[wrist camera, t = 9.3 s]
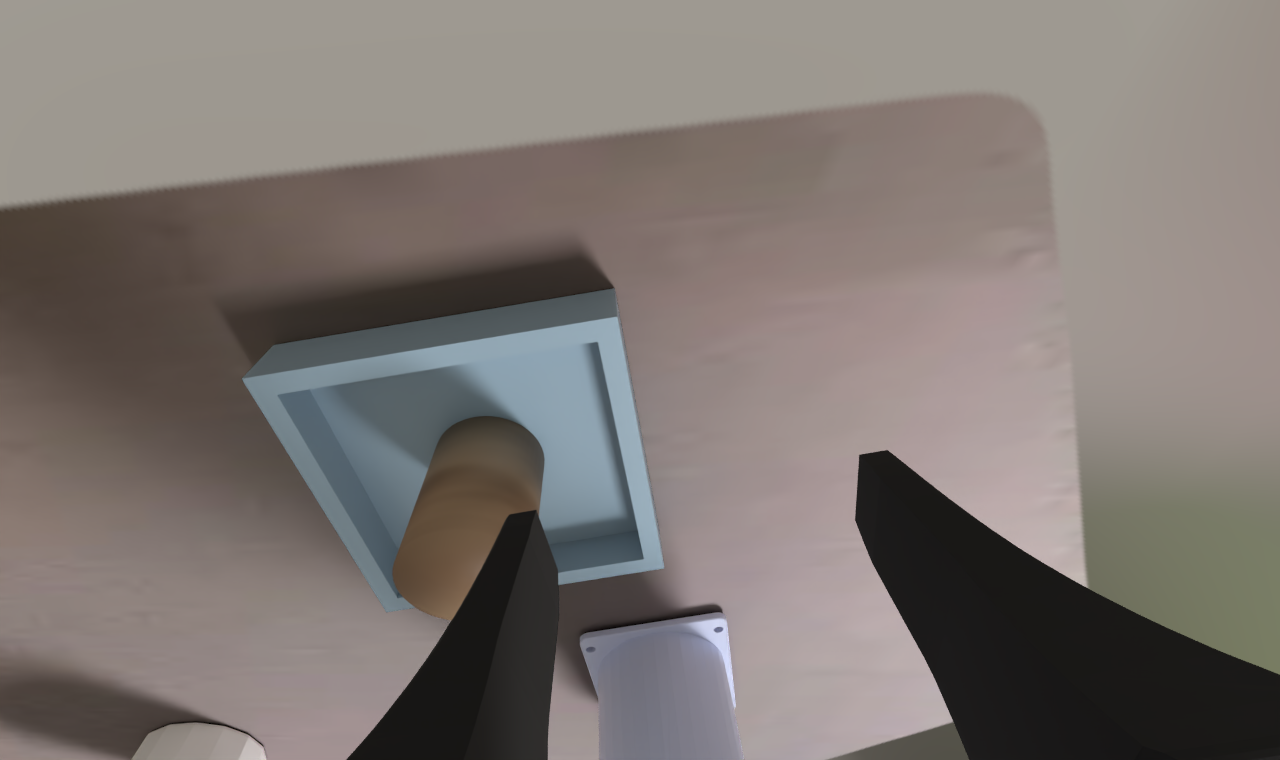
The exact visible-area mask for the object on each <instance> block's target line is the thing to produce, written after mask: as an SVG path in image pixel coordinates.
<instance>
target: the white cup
mask: <svg viewBox="0 0 1280 760" xmlns="http://www.w3.org/2000/svg"><path fill="white" fill-rule="evenodd" d="M131 760H267V759H266V755H265V751H264V747H263V746H262V745H261V744H259V743H258V742H257V741H256V740H255V739H253V738H252V737H251V736H249V735H247V734H245V733H242V732H240V731H237V730H234V729H231V728H229V727H226V726H220V725H213V724H206V723H197V722H194V723H180V724H170V725H167V726H165V727H162V728H160V729H157V730H155V731H152V732H150V733H149V734H148V735H147V736H146V738H145V739H144V741H143V742H142V744H141V745H140V747H139V748H138V750H137V751H136V753H135V755H134V756H133V758H132V759H131Z"/></svg>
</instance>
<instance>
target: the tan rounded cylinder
mask: <svg viewBox="0 0 1280 760" xmlns="http://www.w3.org/2000/svg"><path fill="white" fill-rule="evenodd" d="M544 461H545V458H544V453H543V450H542V447H541V445H540V443H539V442H538V440H537V439H536V437H535V436H534V435H533V434H532V433H531V432H530V431H528V430H527V429H526V428H524V427H523V426H521V425H520V424H518V423H516V422H513V421H511V420H508V419H504V418H500V417H494V416H478V417H472V418H468V419H465V420H462V421H460V422H457V423H456V424H454V425H452V426H451V427H450V428H448V429H447V430H446V431H445V432H444V433H443V434H442V436H441V437H440V439H439V441H438V443H437V446H436V449H435V451H434V454H433V457H432V460H431V462H430V465H429V468H428V471H427V473H426V476H425V479H424V482H423V484H422V487H421V490H420V493H419V495H418V498H417V501H416V504H415V506H414V509H413V512H412V515H411V517H410V520H409V523H408V526H407V528H406V531H405V534H404V537H403V539H402V542H401V545H400V548H399V550H398V553H397V556H396V559H395V561H394V565H393V570H392V575H393V581H394V584H395V586H396V588H397V590H398V591H399V593H400V594H401V595H402V597H403V598H404V599H405V600H406V601H408V602H409V603H410V604H411V605H413V606H414V607H416V608H417V609H419V610H421V611H423V612H425V613H427V614H430V615H432V616H435V617H439V618H443V619H447V620H452V619H453V617H454V616H455V614H456V612H457V611H458V609H459V608H460V606H461V604H462V602H463V601H464V599H465V597H466V595H467V594H468V592H469V590H470V588H471V586H472V584H473V583H474V581H475V579H476V577H477V575H478V574H479V572H480V570H481V568H482V566H483V564H484V562H485V560H486V558H487V556H488V555H489V553H490V551H491V549H492V547H493V545H494V543H495V541H496V538H497V536H498V534H499V532H500V530H501V528H502V526H503V524H504V522H505V520H506V518H507V517H508V516H509V514H514V513H520V512H526V511H532V510H537V513H538V516H539V510H540V501H541V492H542V482H543V473H544Z"/></svg>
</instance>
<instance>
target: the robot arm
mask: <svg viewBox="0 0 1280 760" xmlns="http://www.w3.org/2000/svg"><path fill="white" fill-rule="evenodd" d="M855 521H856V523H857V526H858V529H859V531H860V534H861V536H862V539H863V541H864V544H865V546H866V549H867V551H868V554H869V556H870V558H871V561H872V563H873V565H874V567H875V569H876V571H877V573H878V574H879V576H880V578H881V580H882V582H883V584H884V585H885V587H886V589H887V591H888V593H889V595H890V596H891V598H892V600H893V602H894V604H895V605H896V607H897V609H898V611H899V613H900V614H901V616H902V618H903V620H904V622H905V624H906V625H907V627H908V629H909V631H910V633H911V634H912V636H913V638H914V640H915V642H916V643H917V645H918V647H919V649H920V651H921V652H922V654H923V656H924V658H925V660H926V662H927V664H928V666H929V668H930V670H931V672H932V674H933V676H934V678H935V680H936V683H937V685H938V687H939V689H940V692H941V694H942V696H943V699H944V701H945V703H946V705H947V708H948V710H949V712H950V715H951V717H952V719H953V722H954V724H955V726H956V729H957V731H958V733H959V736H960V738H961V741H962V743H963V745H964V748H965V750H966V752H967V755H968V757H969V760H1280V675H1279V674H1276V673H1274V672H1271V671H1269V670H1266V669H1264V668H1261V667H1259V666H1256V665H1253V664H1251V663H1248V662H1246V661H1243V660H1241V659H1238V658H1236V657H1233V656H1231V655H1228V654H1226V653H1223V652H1221V651H1218V650H1216V649H1213V648H1211V647H1209V646H1207V645H1204V644H1202V643H1200V642H1198V641H1195V640H1193V639H1191V638H1188V637H1186V636H1184V635H1182V634H1180V633H1177V632H1175V631H1173V630H1170V629H1168V628H1166V627H1164V626H1162V625H1160V624H1158V623H1155V622H1153V621H1151V620H1149V619H1147V618H1145V617H1143V616H1141V615H1138V614H1136V613H1134V612H1133V611H1131V610H1128V609H1126V608H1125V607H1123V606H1121V605H1119V604H1117V603H1115V602H1113V601H1111V600H1109V599H1107V598H1105V597H1103V596H1101V595H1099V594H1097V593H1095V592H1093V591H1092V590H1090V589H1088V588H1086V587H1084V586H1082V585H1080V584H1079V583H1077V582H1075V581H1073V580H1071V579H1070V578H1068V577H1066V576H1065V575H1063V574H1061V573H1059V572H1058V571H1056V570H1054V569H1053V568H1051V567H1049V566H1047V565H1046V564H1044V563H1042V562H1041V561H1039V560H1037V559H1036V558H1034V557H1032V556H1031V555H1029V554H1028V553H1026V552H1024V551H1023V550H1021V549H1020V548H1018V547H1017V546H1015V545H1014V544H1012V543H1011V542H1009V541H1008V540H1006V539H1005V538H1003V537H1002V536H1000V535H999V534H997V533H996V532H994V531H993V530H991V529H990V528H988V527H987V526H986V525H984V524H983V523H981V522H980V521H979V520H977V519H976V518H974V517H973V516H972V515H970V514H969V513H968V512H966V511H965V510H964V509H962V508H961V507H960V506H958V505H957V504H955V503H954V502H953V501H951V500H950V499H949V498H947V497H946V496H945V495H944V494H942V493H941V492H940V491H938V490H937V489H936V488H935V487H933V486H932V485H931V484H929V483H928V482H927V481H926V480H924V479H923V478H922V477H921V476H919V475H918V474H917V473H916V472H914V471H913V470H912V469H911V468H909V467H908V466H907V465H906V464H904V463H903V462H902V461H901V460H899V459H898V458H897V457H896V456H894V455H893V454H892V453H890V452H889V451H888V450H885V451H879V452H874V453H868V454H862V455H859V469H858V485H857V500H856V516H855ZM558 619H559V588H558V568H557V566H556V563H555V560H554V557H553V555H552V552H551V549H550V546H549V543H548V541H547V538H546V535H545V532H544V530H543V527H542V524H541V521H540V519H539V516H538V513H537V510H532V511H526V512H520V513H514V514H509V516H508V517H507V518H506V520H505V522H504V524H503V526H502V528H501V530H500V532H499V534H498V536H497V538H496V541H495V543H494V545H493V547H492V549H491V551H490V553H489V555H488V556H487V558H486V560H485V562H484V564H483V566H482V568H481V570H480V572H479V574H478V575H477V577H476V579H475V581H474V583H473V584H472V586H471V588H470V590H469V592H468V594H467V595H466V597H465V599H464V601H463V602H462V604H461V606H460V608H459V609H458V611H457V612H456V614H455V616H454V617H453V619H452V621H451V622H450V624H449V625H448V627H447V629H446V630H445V632H444V634H443V635H442V637H441V638H440V640H439V641H438V643H437V644H436V646H435V647H434V649H433V650H432V652H431V653H430V655H429V656H428V658H427V659H426V661H425V662H424V664H423V665H422V666H421V668H420V669H419V671H418V672H417V673H416V675H415V676H414V678H413V679H412V680H411V682H410V683H409V684H408V686H407V687H406V688H405V690H404V691H403V692H402V694H401V695H400V696H399V697H398V699H397V700H396V701H395V703H394V704H393V705H392V706H391V708H390V709H389V710H388V712H387V713H386V714H385V715H384V717H383V718H382V719H381V720H380V722H379V723H378V724H377V725H376V726H375V728H374V729H373V730H372V731H371V732H370V734H369V735H368V736H367V737H366V738H365V739H364V741H363V742H362V743H361V744H360V745H359V746H358V747H357V748H356V750H355V751H354V752H353V753H352V754H351V755H350V756H349V757H348V758H347V760H548V726H549V712H550V702H551V692H552V682H553V672H554V661H555V651H556V641H557V630H558ZM580 647H581V650H582V653H583V655H584V658H585V661H586V664H587V667H588V670H589V673H590V676H591V679H592V682H593V685H594V687H595V690H596V693H597V696H598V706H599V760H745V759H744V754H743V750H742V745H741V740H740V735H739V730H738V725H737V721H736V716H735V711H734V708H735V706H736V703H735V694H734V684H733V675H732V665H731V656H730V646H729V637H728V627H727V620H726V616H725V615H724V614H723V613H720V612H716V613H709V614H703V615H697V616H690V617H684V618H677V619H671V620H665V621H658V622H652V623H646V624H639V625H633V626H626V627H620V628H614V629H607V630H601V631H595V632H588V633H584V634H583V635H581V637H580Z"/></svg>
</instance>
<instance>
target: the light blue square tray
mask: <svg viewBox="0 0 1280 760" xmlns="http://www.w3.org/2000/svg"><path fill="white" fill-rule="evenodd" d="M242 380H243V382H244V384H245V385H246V387H247V388H248V390H249V392H250V393H251V395H252V396H253V398H254V400H255V401H256V403H257V404H258V406H259V408H260V409H261V411H262V413H263V414H264V416H265V417H266V419H267V421H268V422H269V424H270V425H271V427H272V429H273V430H274V432H275V433H276V435H277V437H278V438H279V440H280V442H281V443H282V445H283V446H284V448H285V450H286V451H287V453H288V454H289V456H290V458H291V459H292V461H293V462H294V464H295V466H296V467H297V469H298V471H299V472H300V474H301V475H302V477H303V479H304V480H305V482H306V483H307V485H308V487H309V488H310V490H311V491H312V493H313V495H314V496H315V498H316V500H317V501H318V503H319V504H320V506H321V508H322V509H323V511H324V512H325V514H326V516H327V517H328V519H329V520H330V522H331V524H332V525H333V527H334V529H335V530H336V532H337V533H338V535H339V537H340V538H341V540H342V541H343V543H344V545H345V546H346V548H347V549H348V551H349V553H350V554H351V556H352V557H353V559H354V561H355V562H356V564H357V566H358V567H359V569H360V570H361V572H362V574H363V575H364V577H365V578H366V580H367V582H368V583H369V585H370V586H371V588H372V590H373V591H374V593H375V595H376V596H377V598H378V599H379V601H380V603H381V604H382V606H383V607H384V609H385V611H386V612H392V611H398V610H404V609H411V608H416V607H414V606H413V605H411V604H410V603H409V602H408V601H406V600H405V599H404V598H403V597H402V595H401V594H400V593H399V591H398V590H397V588H396V586H395V584H394V581H393V575H392V570H393V565H394V561H395V559H396V556H397V553H398V550H399V548H400V545H401V542H402V539H403V537H404V534H405V531H406V528H407V526H408V523H409V520H410V517H411V515H412V512H413V509H414V506H415V504H416V501H417V498H418V495H419V493H420V490H421V487H422V484H423V482H424V479H425V476H426V473H427V471H428V468H429V465H430V462H431V460H432V457H433V454H434V451H435V449H436V446H437V443H438V441H439V439H440V437H441V436H442V434H443V433H444V432H445V431H446V430H447V429H448V428H450V427H451V426H452V425H454V424H456V423H457V422H460V421H462V420H465V419H468V418H472V417H478V416H494V417H500V418H504V419H508V420H511V421H513V422H516V423H518V424H520V425H521V426H523V427H524V428H526V429H527V430H528V431H530V432H531V433H532V434H533V435H534V436H535V437H536V439H537V440H538V442H539V443H540V445H541V447H542V450H543V453H544V458H545V461H544V473H543V482H542V492H541V501H540V510H539V519H540V521H541V524H542V527H543V530H544V532H545V535H546V538H547V541H548V543H549V546H550V549H551V552H552V555H553V557H554V560H555V563H556V566H557V568H558V585H562V584H568V583H575V582H581V581H587V580H594V579H600V578H606V577H613V576H619V575H625V574H632V573H638V572H644V571H651V570H657V569H663V568H664V562H663V555H662V547H661V540H660V533H659V526H658V521H657V515H656V510H655V505H654V499H653V494H652V488H651V483H650V477H649V472H648V466H647V461H646V456H645V450H644V445H643V439H642V434H641V428H640V423H639V418H638V412H637V407H636V401H635V396H634V390H633V385H632V379H631V374H630V369H629V363H628V358H627V352H626V347H625V341H624V336H623V331H622V325H621V320H620V314H619V309H618V303H617V298H616V293H615V288H613V289H607V290H601V291H595V292H589V293H583V294H577V295H571V296H565V297H559V298H553V299H547V300H541V301H535V302H529V303H523V304H517V305H511V306H505V307H499V308H493V309H487V310H481V311H475V312H469V313H463V314H457V315H451V316H445V317H439V318H433V319H427V320H421V321H415V322H409V323H403V324H397V325H391V326H385V327H379V328H373V329H367V330H361V331H355V332H349V333H343V334H337V335H331V336H325V337H319V338H313V339H307V340H301V341H295V342H289V343H283V344H277V345H273V346H272V347H271V348H270V349H269V350H268V351H267V352H266V353H265V354H264V356H263V357H262V358H261V359H260V360H259V361H258V362H257V363H256V364H255V365H254V366H253V367H252V368H251V369H250V370H249V371H248V373H247V374H246V375H245V376H244V377H243V378H242Z"/></svg>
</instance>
